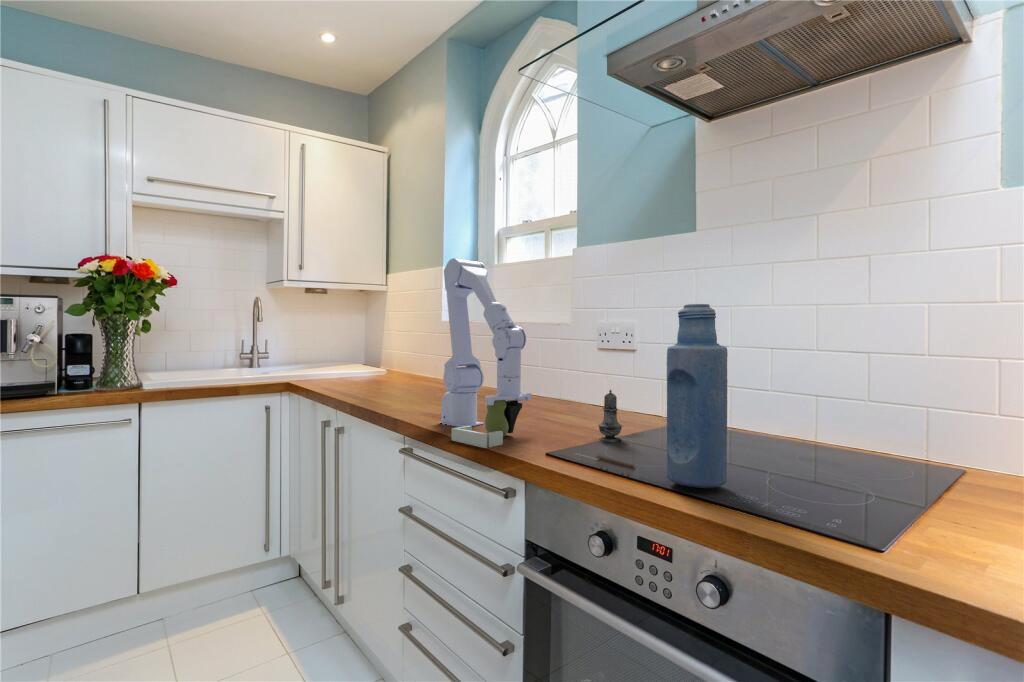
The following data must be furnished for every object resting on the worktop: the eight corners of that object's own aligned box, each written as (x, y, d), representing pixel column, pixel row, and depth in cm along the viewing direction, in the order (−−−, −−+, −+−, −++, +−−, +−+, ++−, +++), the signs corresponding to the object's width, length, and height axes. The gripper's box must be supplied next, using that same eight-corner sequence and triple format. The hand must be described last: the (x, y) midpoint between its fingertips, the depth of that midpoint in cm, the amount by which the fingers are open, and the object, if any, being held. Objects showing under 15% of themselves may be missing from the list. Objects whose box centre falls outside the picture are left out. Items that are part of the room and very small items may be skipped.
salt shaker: (622, 442, 123) (623, 391, 123) (596, 441, 125) (597, 390, 125) (622, 438, 129) (623, 388, 129) (598, 437, 130) (598, 388, 130)
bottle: (739, 483, 89) (741, 304, 89) (700, 492, 84) (702, 301, 84) (692, 471, 97) (694, 306, 97) (654, 478, 92) (656, 304, 92)
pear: (481, 438, 127) (479, 397, 127) (498, 434, 131) (496, 394, 130) (497, 441, 123) (495, 398, 123) (513, 437, 127) (511, 395, 126)
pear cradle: (451, 441, 123) (451, 428, 123) (468, 438, 127) (468, 425, 127) (485, 448, 116) (485, 434, 116) (502, 444, 120) (502, 431, 120)
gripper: (500, 379, 121) (500, 438, 122) (540, 376, 132) (539, 430, 132) (478, 377, 126) (478, 434, 126) (518, 374, 137) (518, 427, 137)
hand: (508, 432), depth 130 cm, fingers closed
